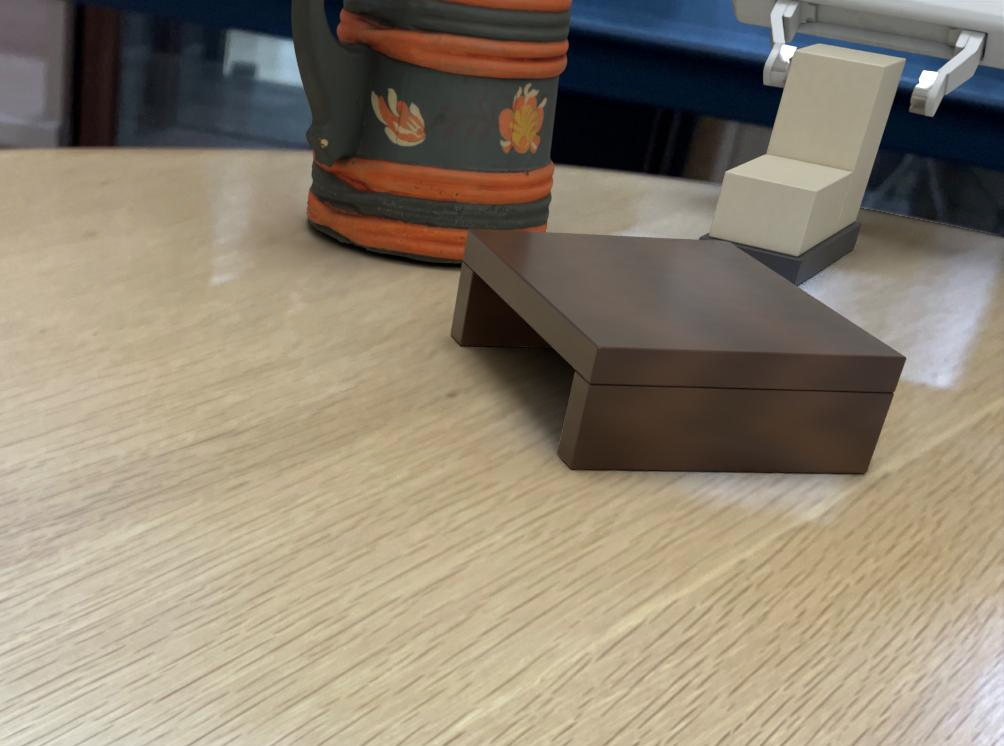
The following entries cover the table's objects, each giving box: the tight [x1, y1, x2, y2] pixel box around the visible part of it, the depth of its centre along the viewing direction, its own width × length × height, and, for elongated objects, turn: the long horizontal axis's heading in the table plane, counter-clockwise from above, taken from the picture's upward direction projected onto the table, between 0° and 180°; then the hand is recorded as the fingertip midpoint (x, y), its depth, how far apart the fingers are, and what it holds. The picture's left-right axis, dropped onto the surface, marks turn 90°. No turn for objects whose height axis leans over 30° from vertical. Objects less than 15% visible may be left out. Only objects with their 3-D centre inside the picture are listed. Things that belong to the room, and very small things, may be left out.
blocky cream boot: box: [698, 42, 907, 287], centre depth 93 cm, size 14×6×11 cm, turn 148°
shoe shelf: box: [450, 228, 907, 474], centre depth 71 cm, size 14×18×5 cm
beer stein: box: [290, 0, 573, 264], centre depth 85 cm, size 19×15×20 cm
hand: (846, 93), depth 96 cm, fingers open, 8 cm apart
